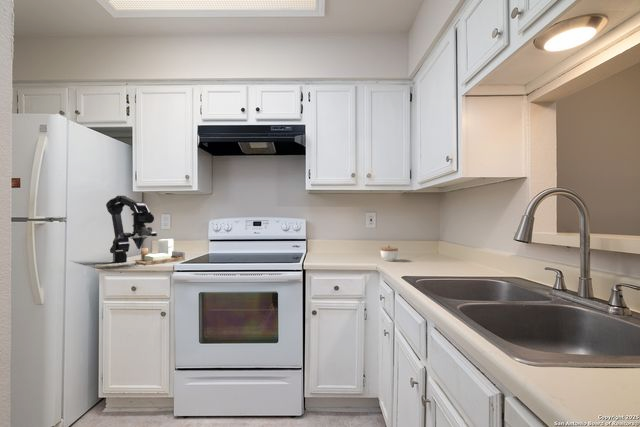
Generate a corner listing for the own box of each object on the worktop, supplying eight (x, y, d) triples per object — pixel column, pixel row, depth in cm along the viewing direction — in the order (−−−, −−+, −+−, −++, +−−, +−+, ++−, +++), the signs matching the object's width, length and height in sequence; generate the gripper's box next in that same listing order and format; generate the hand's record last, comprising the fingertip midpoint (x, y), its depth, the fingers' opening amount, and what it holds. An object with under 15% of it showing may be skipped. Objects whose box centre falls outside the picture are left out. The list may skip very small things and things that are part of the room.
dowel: (143, 260, 197) (143, 248, 197) (140, 260, 200) (140, 248, 200) (149, 260, 201) (149, 248, 201) (146, 259, 203) (146, 247, 203)
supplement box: (168, 258, 210) (168, 239, 210) (157, 258, 210) (157, 239, 210) (173, 256, 217) (173, 238, 217) (163, 256, 217) (163, 238, 217)
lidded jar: (400, 261, 188) (400, 246, 189) (384, 262, 186) (384, 246, 186) (393, 259, 199) (393, 244, 199) (377, 259, 197) (377, 245, 197)
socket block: (153, 262, 185) (153, 256, 185) (144, 260, 191) (144, 255, 191) (170, 259, 193) (170, 254, 193) (162, 258, 200) (162, 253, 200)
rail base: (146, 265, 180) (146, 256, 180) (135, 263, 188) (135, 255, 188) (184, 260, 199) (184, 252, 200) (173, 258, 208) (173, 251, 208)
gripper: (127, 223, 171) (127, 251, 171) (161, 222, 186) (161, 248, 186) (119, 223, 178) (119, 250, 178) (152, 222, 193) (152, 247, 193)
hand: (138, 249), depth 183 cm, fingers closed
